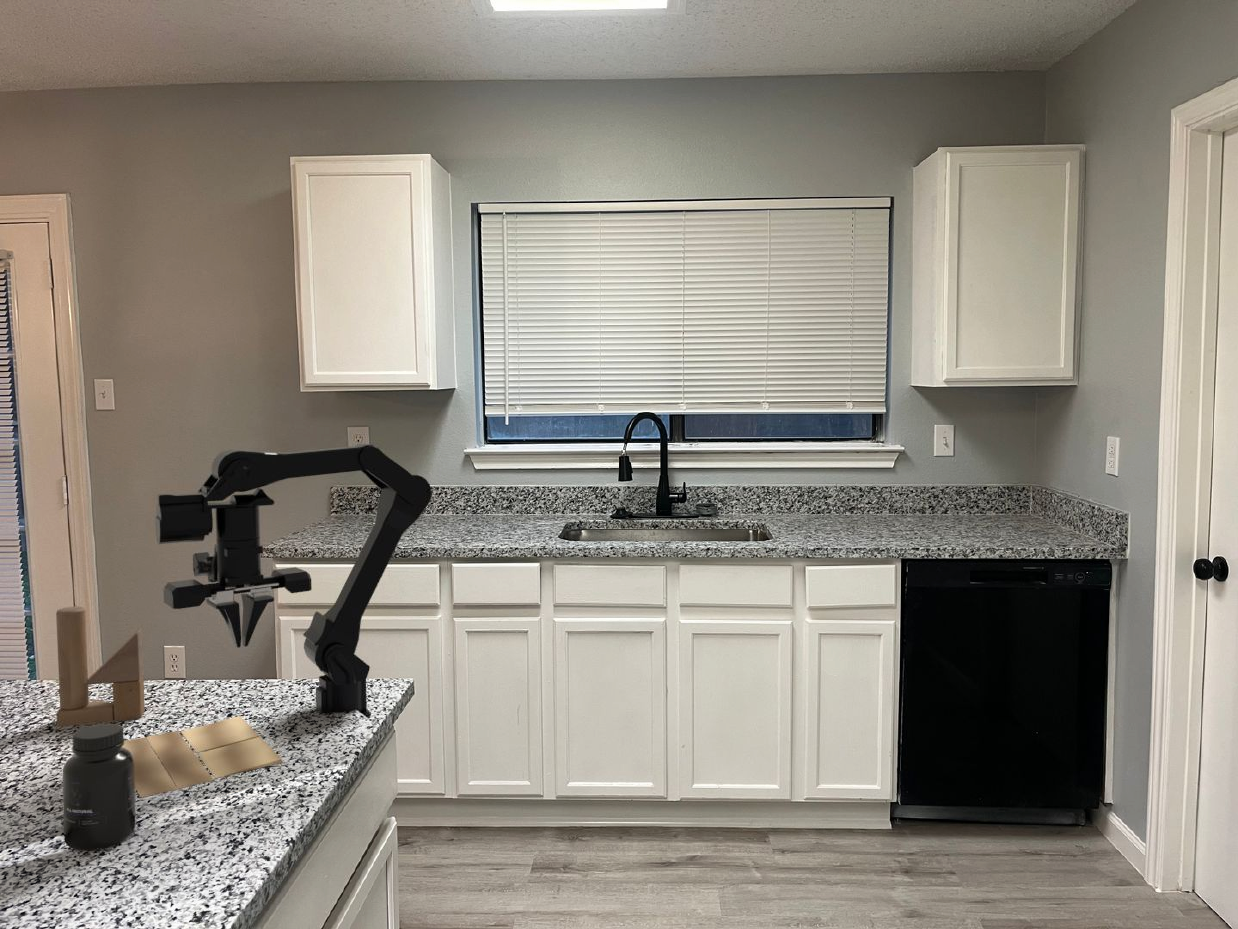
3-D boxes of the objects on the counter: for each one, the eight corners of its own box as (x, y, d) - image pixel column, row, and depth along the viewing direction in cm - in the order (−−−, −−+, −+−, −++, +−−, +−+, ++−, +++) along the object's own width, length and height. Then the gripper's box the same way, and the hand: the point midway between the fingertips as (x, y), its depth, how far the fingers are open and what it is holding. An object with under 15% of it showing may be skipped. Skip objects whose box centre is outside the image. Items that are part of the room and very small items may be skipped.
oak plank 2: (261, 747, 122) (260, 736, 122) (282, 770, 115) (281, 759, 115) (198, 764, 117) (197, 753, 117) (216, 789, 110) (215, 778, 110)
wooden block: (141, 728, 130) (137, 607, 129) (56, 737, 127) (51, 612, 125) (145, 719, 134) (141, 601, 132) (63, 728, 130) (58, 607, 129)
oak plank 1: (241, 726, 130) (240, 716, 130) (260, 746, 123) (259, 735, 122) (181, 741, 125) (180, 731, 125) (197, 763, 118) (196, 752, 118)
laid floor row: (177, 741, 125) (177, 730, 125) (214, 792, 109) (214, 780, 109) (113, 754, 121) (112, 743, 120) (141, 810, 104) (140, 797, 104)
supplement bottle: (61, 858, 93) (57, 747, 92) (67, 830, 99) (62, 725, 98) (136, 843, 96) (132, 735, 96) (137, 817, 103) (133, 715, 102)
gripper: (284, 526, 138) (287, 625, 139) (151, 537, 126) (155, 646, 127) (311, 534, 130) (314, 639, 131) (172, 548, 118) (176, 663, 119)
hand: (241, 646), depth 127 cm, fingers closed
